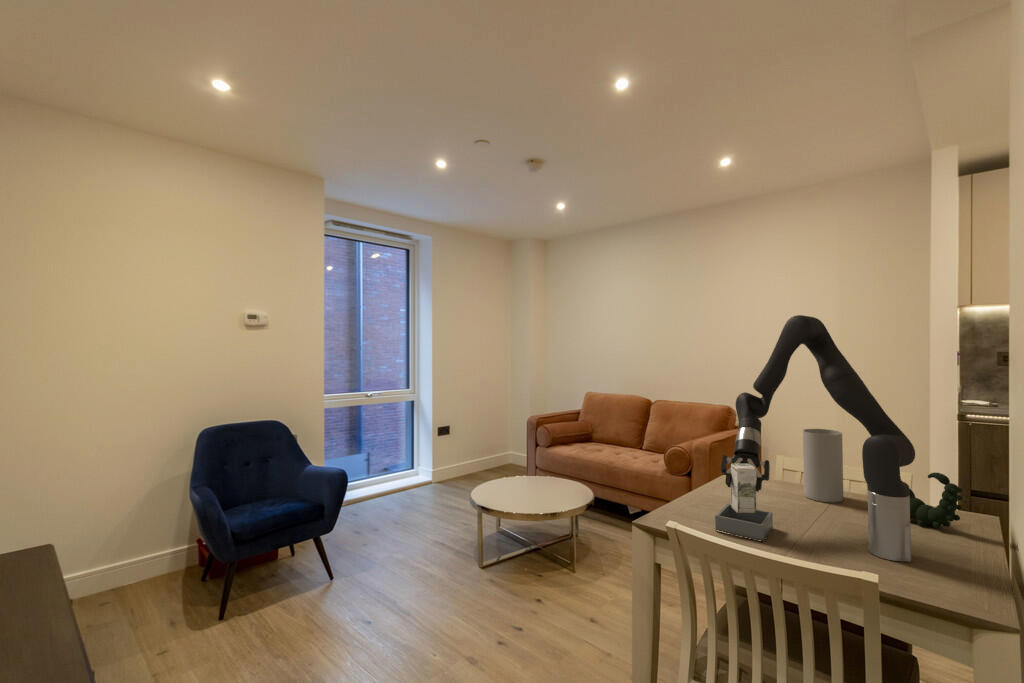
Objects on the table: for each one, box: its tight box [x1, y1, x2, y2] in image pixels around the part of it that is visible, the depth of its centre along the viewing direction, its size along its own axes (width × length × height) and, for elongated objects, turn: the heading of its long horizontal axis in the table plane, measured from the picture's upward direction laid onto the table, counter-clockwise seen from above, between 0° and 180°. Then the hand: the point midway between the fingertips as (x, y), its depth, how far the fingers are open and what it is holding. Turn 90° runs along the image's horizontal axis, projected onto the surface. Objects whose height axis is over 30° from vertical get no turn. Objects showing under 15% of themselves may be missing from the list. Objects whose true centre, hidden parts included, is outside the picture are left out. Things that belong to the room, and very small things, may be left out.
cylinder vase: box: [802, 428, 844, 504], centre depth 180 cm, size 12×12×25 cm
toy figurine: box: [910, 472, 963, 529], centre depth 156 cm, size 9×19×25 cm
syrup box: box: [730, 463, 757, 514], centre depth 152 cm, size 6×6×14 cm
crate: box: [714, 503, 774, 542], centre depth 151 cm, size 14×14×5 cm
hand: (742, 488), depth 150 cm, fingers closed on syrup box, 7 cm apart
